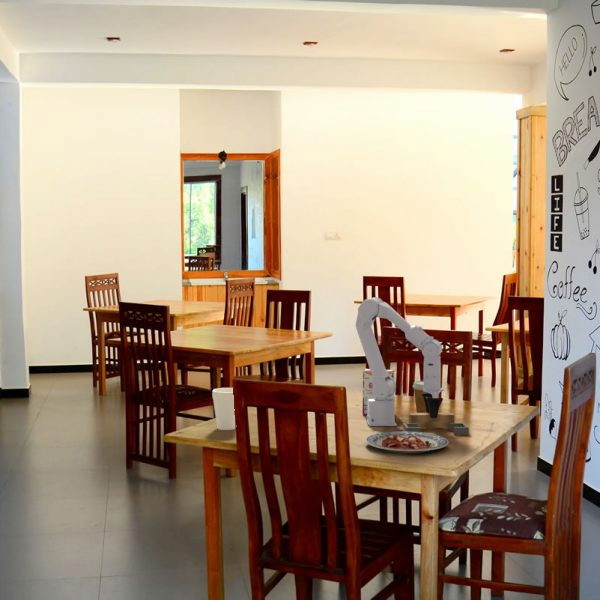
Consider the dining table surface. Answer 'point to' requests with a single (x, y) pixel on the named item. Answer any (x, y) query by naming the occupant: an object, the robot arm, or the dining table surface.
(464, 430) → the end cap
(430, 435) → the ceramic plate
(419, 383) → the disposable coffee cup
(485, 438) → the dining table surface
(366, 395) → the candy bar box
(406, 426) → the end cap
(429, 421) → the slat
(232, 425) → the foam cup
